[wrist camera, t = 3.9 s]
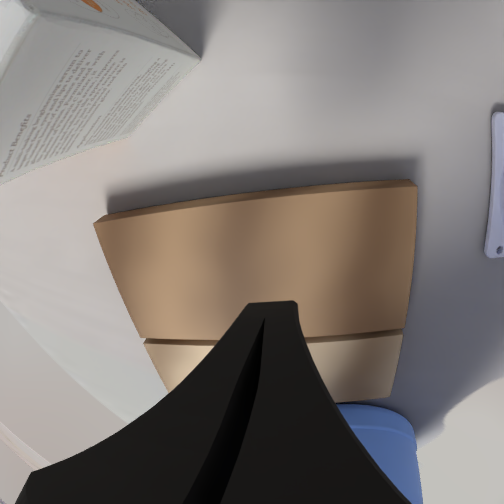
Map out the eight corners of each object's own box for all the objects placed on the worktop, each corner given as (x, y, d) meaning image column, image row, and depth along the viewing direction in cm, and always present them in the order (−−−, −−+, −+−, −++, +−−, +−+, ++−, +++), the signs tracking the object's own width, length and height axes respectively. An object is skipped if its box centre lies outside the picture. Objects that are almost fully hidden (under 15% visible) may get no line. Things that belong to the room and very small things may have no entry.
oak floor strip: (399, 316, 16) (404, 329, 15) (387, 384, 19) (389, 396, 18) (148, 327, 20) (141, 339, 19) (177, 388, 22) (172, 399, 21)
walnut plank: (408, 179, 13) (417, 186, 12) (399, 314, 16) (404, 327, 15) (104, 215, 16) (93, 223, 15) (147, 326, 20) (140, 337, 19)
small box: (53, 55, 12) (-103, 71, 3) (113, -20, 10) (-40, -67, 1) (130, 141, 14) (-48, 217, 5) (206, 61, 12) (31, 10, 3)
